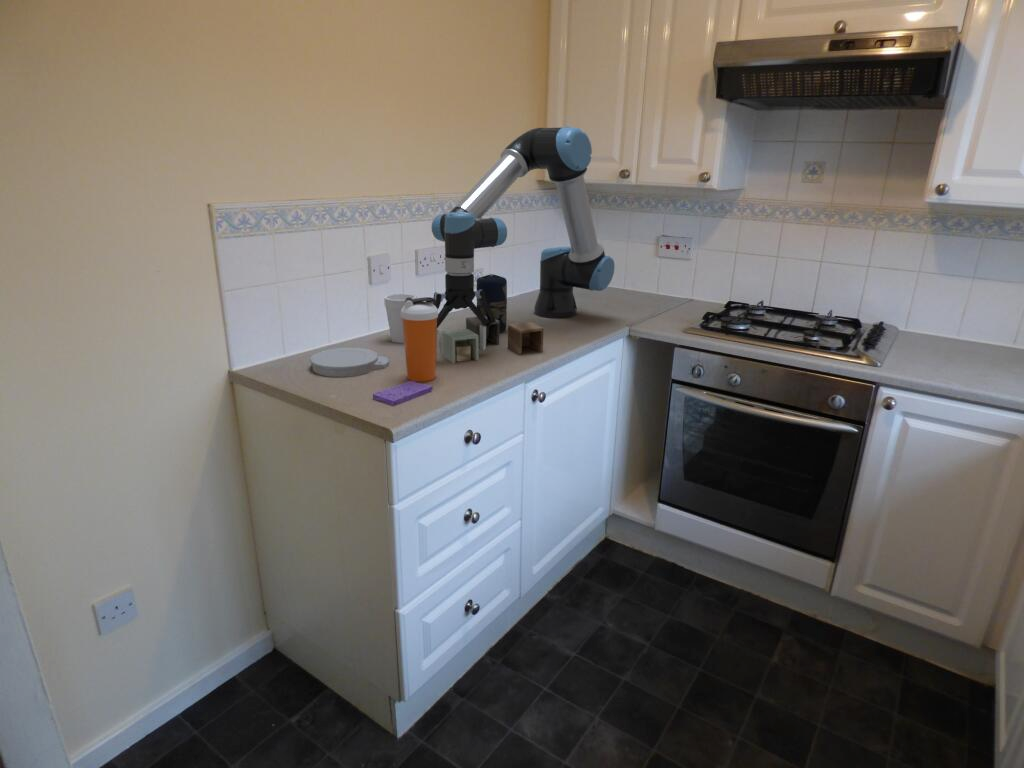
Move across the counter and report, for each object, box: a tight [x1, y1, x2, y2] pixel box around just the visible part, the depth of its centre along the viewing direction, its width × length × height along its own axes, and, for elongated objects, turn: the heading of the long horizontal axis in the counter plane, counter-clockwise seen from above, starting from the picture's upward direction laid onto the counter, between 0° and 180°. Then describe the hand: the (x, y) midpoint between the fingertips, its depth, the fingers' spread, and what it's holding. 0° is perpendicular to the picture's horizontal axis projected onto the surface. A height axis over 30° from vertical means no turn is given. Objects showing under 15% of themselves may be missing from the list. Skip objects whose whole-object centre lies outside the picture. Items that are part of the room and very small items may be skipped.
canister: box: [476, 273, 508, 333], centre depth 202 cm, size 10×10×18 cm
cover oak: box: [465, 316, 501, 345], centre depth 191 cm, size 8×8×7 cm
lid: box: [309, 347, 390, 378], centre depth 169 cm, size 17×20×3 cm
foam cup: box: [383, 293, 418, 344], centre depth 192 cm, size 10×9×13 cm
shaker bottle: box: [401, 296, 439, 383], centre depth 158 cm, size 9×9×20 cm
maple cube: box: [455, 342, 472, 362], centre depth 176 cm, size 4×4×4 cm
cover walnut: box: [507, 321, 544, 356], centre depth 185 cm, size 8×8×7 cm
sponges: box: [372, 380, 434, 406], centre depth 150 cm, size 7×13×2 cm, turn 143°
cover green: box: [442, 328, 480, 365], centre depth 176 cm, size 8×8×7 cm
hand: (459, 351), depth 177 cm, fingers open, 13 cm apart
